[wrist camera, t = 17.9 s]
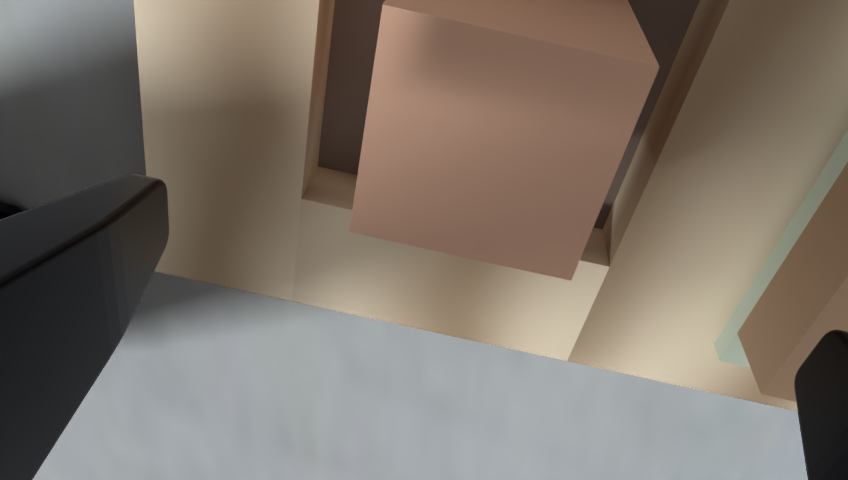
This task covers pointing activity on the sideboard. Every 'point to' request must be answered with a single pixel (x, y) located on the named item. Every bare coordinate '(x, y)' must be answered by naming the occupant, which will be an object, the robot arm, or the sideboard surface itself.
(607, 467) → the sideboard surface
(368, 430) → the sideboard surface
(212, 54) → the puzzle board
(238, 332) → the sideboard surface
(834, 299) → the cover
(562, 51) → the block
